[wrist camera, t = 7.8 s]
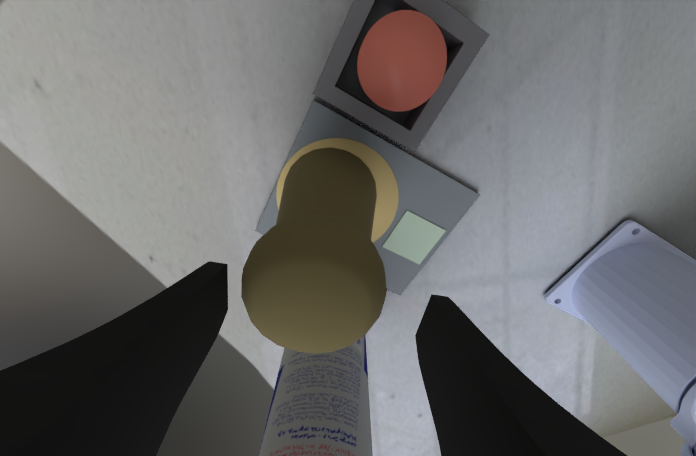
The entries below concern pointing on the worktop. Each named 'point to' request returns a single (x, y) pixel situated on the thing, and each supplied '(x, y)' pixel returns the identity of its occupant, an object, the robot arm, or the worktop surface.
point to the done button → (402, 60)
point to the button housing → (342, 77)
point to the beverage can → (320, 405)
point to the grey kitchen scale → (385, 194)
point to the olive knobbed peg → (318, 258)
